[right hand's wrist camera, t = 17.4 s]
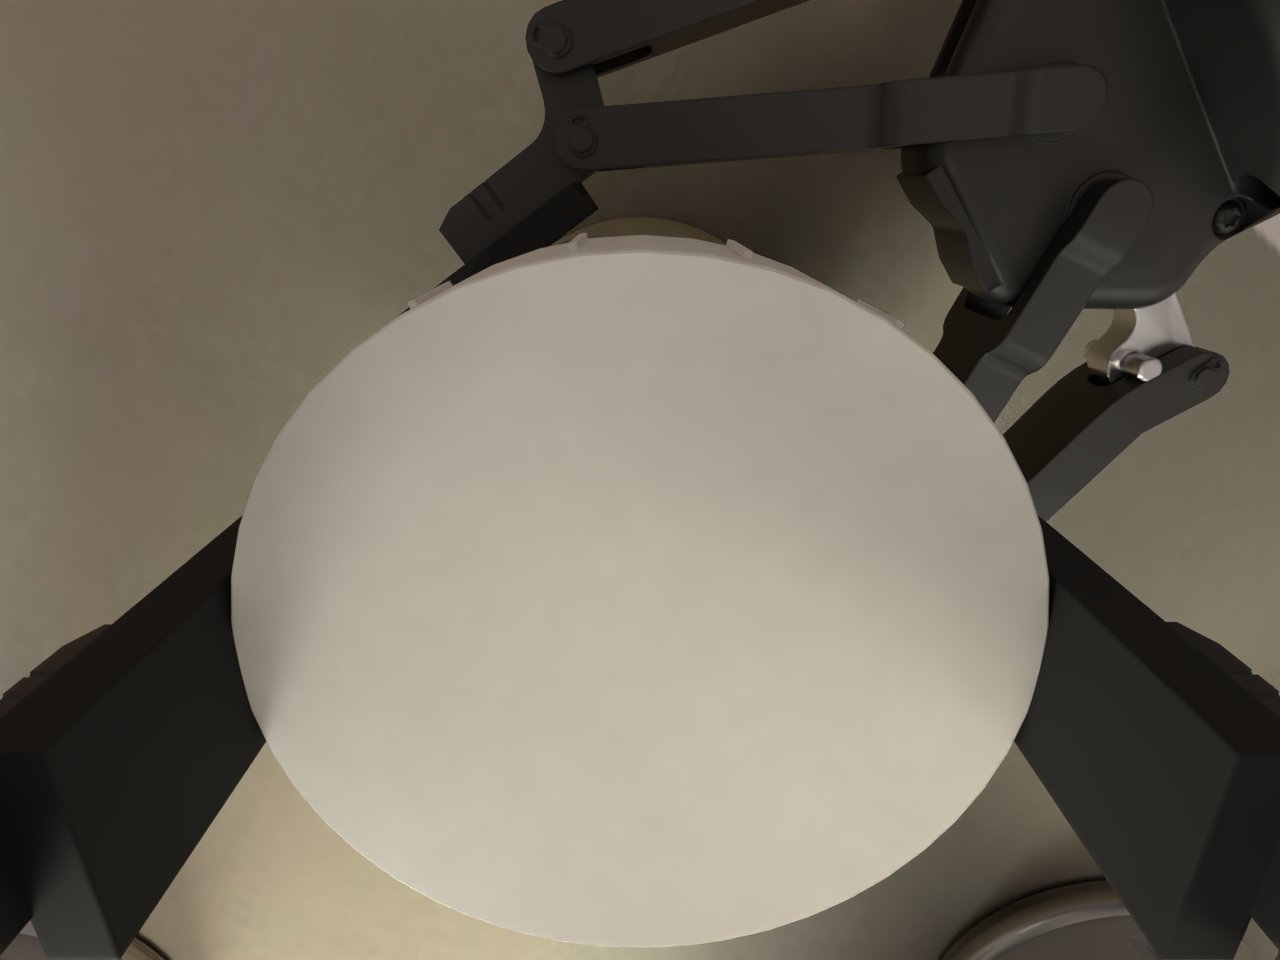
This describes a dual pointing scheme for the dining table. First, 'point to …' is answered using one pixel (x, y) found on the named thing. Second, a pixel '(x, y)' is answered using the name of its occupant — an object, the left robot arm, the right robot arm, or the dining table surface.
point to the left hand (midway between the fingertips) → (514, 516)
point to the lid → (640, 594)
